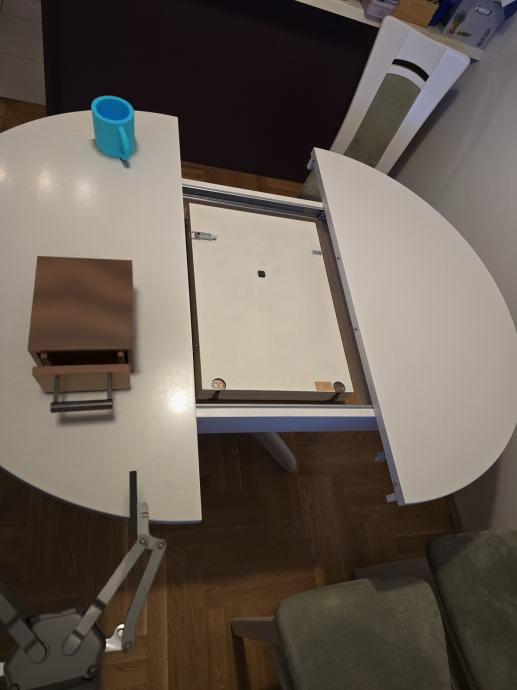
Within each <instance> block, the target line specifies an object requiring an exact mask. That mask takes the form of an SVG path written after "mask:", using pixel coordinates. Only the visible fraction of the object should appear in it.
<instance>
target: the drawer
mask: <svg viewBox="0 0 517 690" xmlns="http://www.w3.org/2000/svg"><path fill="white" fill-rule="evenodd" d="M41 359H42V361H43V362H44V364H45V366H32V370H31V375H32V377H33V378H34V380H35V381H36V383H37V384H38V385H39V387H40V388H41V389H42V391H43V393H53V396H52V401H50V406H49V411H50V414H57V413H58V414H60V413H75V412H77V413H78V412H93V411H108V410H109V411H110V410H114V398H113V390H126V389H127V390H128V389H132V383H131V372H130V367H129V364H125V351H99V352H50V353H41ZM105 390H106V398H105V399H104V398H103V399H86V400H85V399H84V400H65V401H64V400H63V401H59V399H60V392H61V393H62V392H83V391H105Z"/></svg>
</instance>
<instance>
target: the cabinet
mask: <svg viewBox="0 0 517 690" xmlns="http://www.w3.org/2000/svg"><path fill="white" fill-rule="evenodd" d="M133 272H134V270H133V260H132V259H117V258H116V259H115V258H114V259H113V258H95V257H94V258H93V257H92V258H91V257H74V256H73V257H70V256H48V255H37V257H36V264H35V272H34V273H35V274H34V284H33V293H32V303H31V313H30V314H31V315H30V320H29V321H30V323H29V332H28V341H27V352H28V353H29V355H30V357H31V358H32V360H33V362H34V363H35V364H36V367H38V366H45V364H44V362H43V361H42V359H41V353H50V352H99V351H125V364H129V367H130V373H134V372H135V328H134V327H135V313H134V312H135V311H134V309H135V307H134V306H135V305H134V273H133Z"/></svg>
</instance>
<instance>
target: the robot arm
mask: <svg viewBox="0 0 517 690" xmlns="http://www.w3.org/2000/svg"><path fill="white" fill-rule="evenodd" d="M128 473H129V474H128V475H129V477H128V478H129V480H128V481H129V483H128V484H129V485H128V486H129V537H134V536H135V537H136V541H135V542H134V544H132V546H131V548H130V549H129V550H128V552H127V553H126V555H125V557H124V558H123V559H122V561H121V562H120V563H119V565H118V566H117V568H116V569H115V571H114V572H113V574H112V575H111V577H110V578H109V579H108V581H107V582H106V584H105V585H104V587H103V588H102V589H101V590H100V592H99V594H98V595H97V597H96V598H95V599H94V601H93V602H92V603H91V605H90V606H89V608H88V609H87V608H86V606H83V605H80V604H79V603H78V604H74V605H70V606H68V607H65V608H64V609H55V608H54V609H49V610H44V611H43V612H41V613H40V614H38V615H37V616H34V614H32V613H31V611H29V610H28V609H27V608H25V607H24V605H22V604H21V603H20V601H19V600H18V599H17V598H16V597H15V595H14V594H13V593H12V592H11V590H9V588H8V587H7V586H6V584H4V583H3V581H2V580H0V621H1V623H2V624H3V625H4V626H5V629H6V631H7V633H8V634H9V635H10V636H11V638H12V639H13V640H14V641H15V642H16V643H15V645H14V646H13V648H12V650H11V651H10V653H9V654H8V655H7V657H6V659H3V658H1V657H0V677H3V676H4V678H5V680H6V684H7V690H101V689H102V661H103V657H104V654H105V653H108V652H118V651H122V652H123V654H126V655H128V654H131V653H132V652H133V651H134V649H135V646H136V637H137V636H136V635H137V624H138V621H139V619H140V617H141V614H142V611H143V609H144V606H145V603H146V601H147V598H148V596H149V593H150V591H151V588H152V585H153V583H154V580H155V578H156V575H157V573H158V570H159V567H160V565H161V564H162V563H161V562H162V560H163V558H164V555H165V552H166V550H167V546H168V544H167V541H166V540H165V539H164V538H160V537H156V536H153V535H152V534H151V533H150V527H149V526H150V524H149V519H150V518H149V505H148V503H147V502H146V501H145V502H138V471H137V470H129V471H128ZM3 493H4V488H3V487H0V511H1V510H2V509H1V508H2V501H3ZM145 549H146V550H151V552H150V554H149V556H148V559H147V561H146V564H145V567H144V569H143V571H142V574H141V576H140V579H139V581H138V584H137V586H136V589H135V591H134V593H133V596H132V599H131V601H130V603H129V606H128V608H127V611H126V614H125V618H124V621H122V622H119V623H118V624H117V625H116V626H115V628H114V631H113V633H112V634H111V635H108V636H107V634H106V633H105V631H104V629H102V627H101V626H100V625H99V623H98V621H97V620H98V619H99V617H100V616H101V614H102V613H103V612H104V610H105V608H106V607H107V605H108V604H109V602H110V601H111V599H112V598H113V597H114V596H115V594H116V592H117V591H118V590H119V588H120V586H121V585H122V584H123V582H124V580H125V579H126V578H127V576H128V574H129V573H130V571H131V570H132V569H133V567H134V566H135V564H136V563H137V562H138V560H139V558H140V557H141V555H142V554H143V553H144V551H145Z"/></svg>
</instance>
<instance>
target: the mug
mask: <svg viewBox="0 0 517 690" xmlns="http://www.w3.org/2000/svg"><path fill="white" fill-rule="evenodd" d="M90 108H91V117H92V125H93V126H92V127H93V134H94V140H95V141H94V143H95V146H96V148H97V149H98V151H99V152H100V153H102V154H103V155H106V156H108V157H110V158H115V159H120V158H121V160H123V161H129V160H130V159H131V155H132V154H133V153H134V151H135V147H136V142H135V141H136V140H135V139H136V137H135V135H136V133H135V132H136V131H135V130H136V129H135V111H134V107H133V106H132V105H131V103H129V102H128V100H125V99H123V98H121V97H118V96H113V95H103V96H98V97H97V98H95V99H94V100H93V101H92V102H91V106H90Z"/></svg>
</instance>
